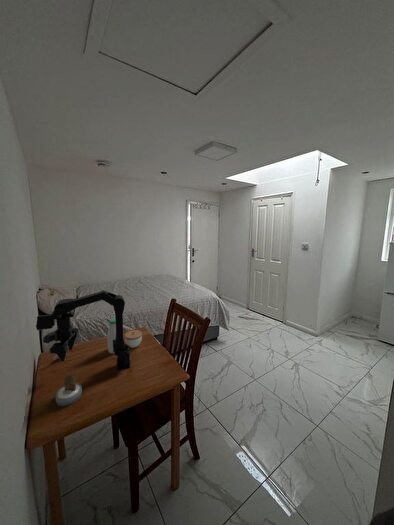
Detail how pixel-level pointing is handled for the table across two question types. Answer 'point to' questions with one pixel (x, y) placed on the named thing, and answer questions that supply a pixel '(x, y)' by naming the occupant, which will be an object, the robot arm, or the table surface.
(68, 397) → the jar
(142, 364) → the table surface
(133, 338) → the lidded jar
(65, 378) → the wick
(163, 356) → the table surface
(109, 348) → the milk bottle
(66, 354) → the lily
